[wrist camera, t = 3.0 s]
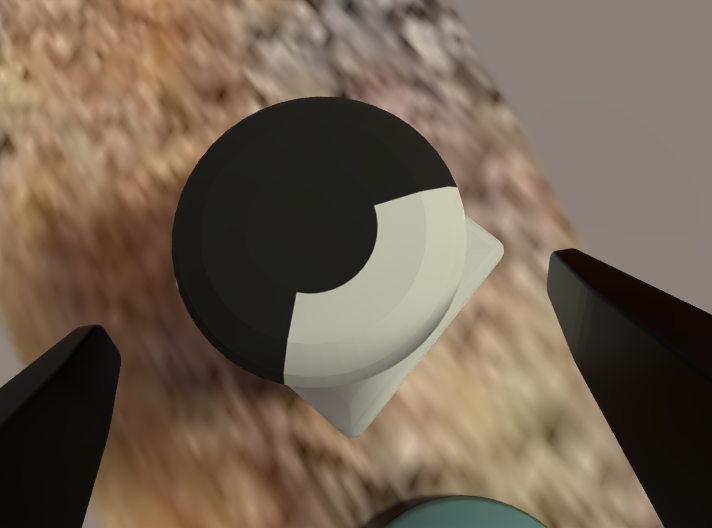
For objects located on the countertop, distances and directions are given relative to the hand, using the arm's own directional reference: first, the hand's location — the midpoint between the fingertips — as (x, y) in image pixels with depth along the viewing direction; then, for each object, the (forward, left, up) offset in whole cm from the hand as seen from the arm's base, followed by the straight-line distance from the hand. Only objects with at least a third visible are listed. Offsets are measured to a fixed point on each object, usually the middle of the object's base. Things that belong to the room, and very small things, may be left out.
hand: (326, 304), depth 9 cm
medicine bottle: (+1, 0, -11) cm, 11 cm away
